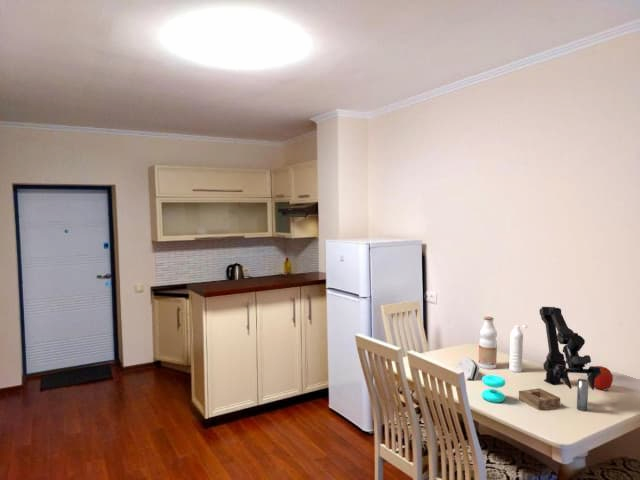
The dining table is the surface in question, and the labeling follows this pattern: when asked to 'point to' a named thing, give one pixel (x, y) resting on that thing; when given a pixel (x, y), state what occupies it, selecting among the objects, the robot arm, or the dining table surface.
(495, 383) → the donuts
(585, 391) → the steel pin
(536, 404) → the block
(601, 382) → the apple
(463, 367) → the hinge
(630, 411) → the dining table surface
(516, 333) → the water bottle
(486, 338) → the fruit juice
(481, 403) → the dining table surface
